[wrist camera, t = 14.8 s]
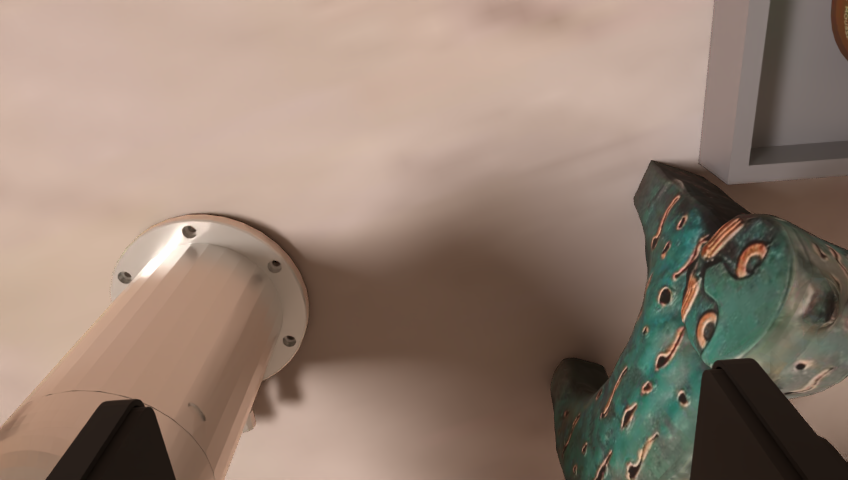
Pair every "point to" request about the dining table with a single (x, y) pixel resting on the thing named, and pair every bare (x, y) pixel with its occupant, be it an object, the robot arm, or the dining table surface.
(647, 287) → the teal animal figurine
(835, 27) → the food container
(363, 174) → the dining table surface
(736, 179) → the tray
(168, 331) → the robot arm
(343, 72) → the dining table surface
